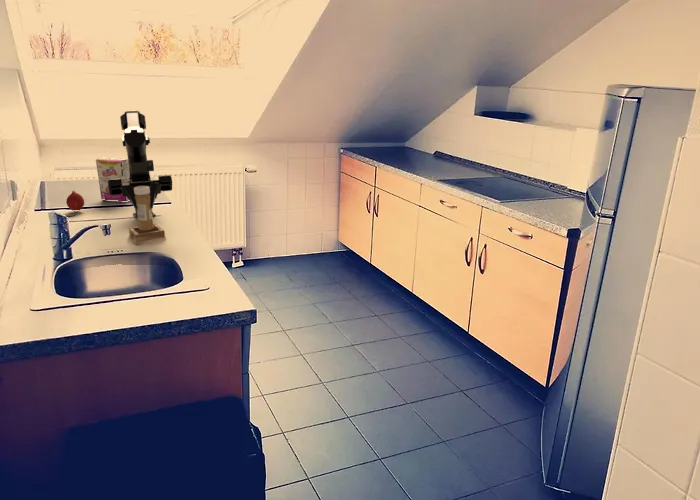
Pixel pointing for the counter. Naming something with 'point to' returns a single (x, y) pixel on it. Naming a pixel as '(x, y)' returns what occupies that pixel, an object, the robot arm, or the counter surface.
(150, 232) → the holder
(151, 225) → the sprinkles bottle
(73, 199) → the onion
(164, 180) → the robot arm
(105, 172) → the candy bar box
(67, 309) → the counter surface
